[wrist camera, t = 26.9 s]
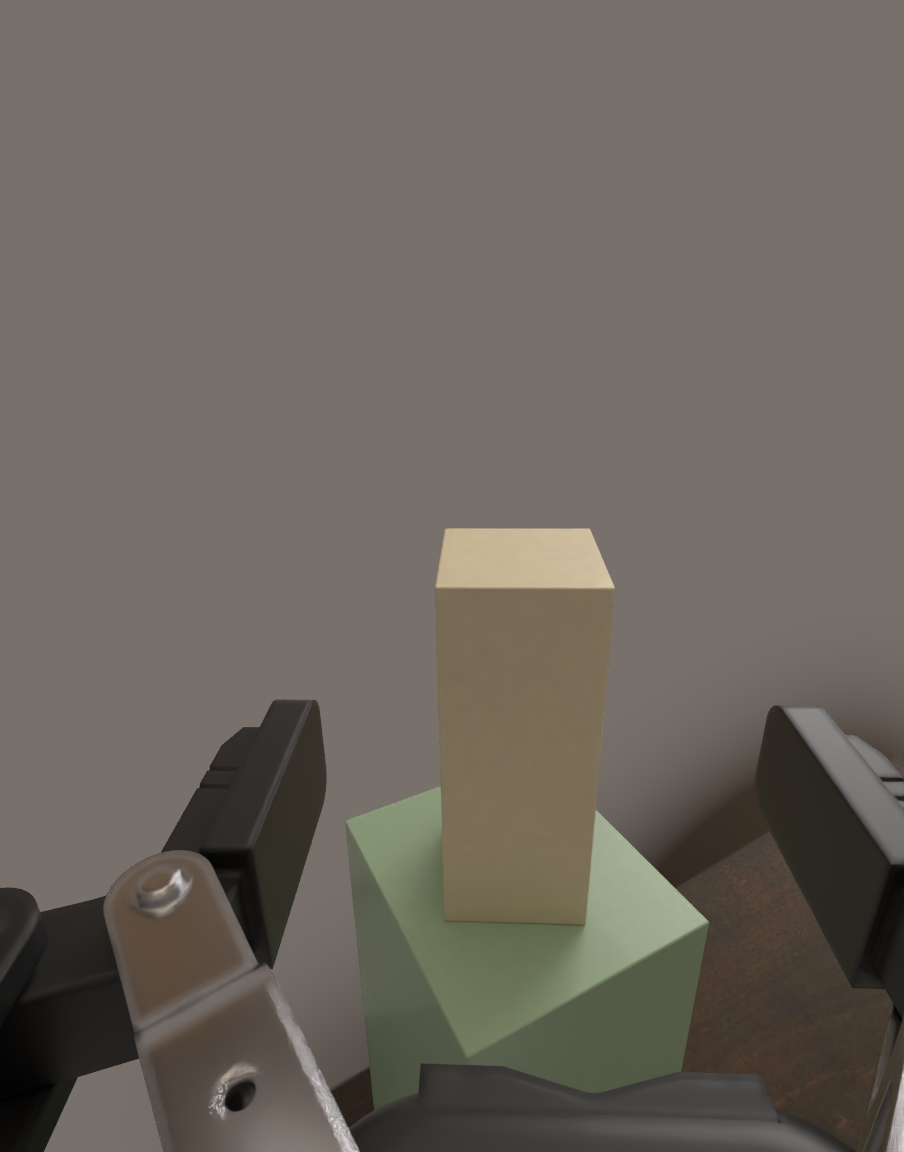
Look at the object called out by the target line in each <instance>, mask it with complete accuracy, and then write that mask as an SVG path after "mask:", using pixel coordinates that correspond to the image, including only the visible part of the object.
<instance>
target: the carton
mask: <svg viewBox="0 0 904 1152" xmlns="http://www.w3.org/2000/svg"><path fill="white" fill-rule="evenodd" d="M614 597H615V588H614V585H613V583H612V580H611V578H610V576H609V573H608V571H607V569H606V566H605V564H604V561H603V559H602V557H601V555H600V552H599V550H598V547H597V545H596V542H595V540H594V538H593V536H592V533H591V531H590V529H445V532H444V538H443V544H442V550H441V556H440V562H439V568H438V574H437V580H436V586H435V606H436V642H437V675H438V708H439V709H438V710H439V711H438V713H439V745H440V746H439V748H440V783H441V819H442V855H443V890H444V919H445V921H465V922H499V923H534V924H568V925H585V924H586V917H587V905H588V894H589V882H590V871H591V860H592V848H593V837H594V825H595V814H596V803H597V790H598V780H599V767H600V757H601V746H602V733H603V722H604V711H605V699H606V688H607V676H608V666H609V653H610V643H611V631H612V620H613V609H614Z"/></svg>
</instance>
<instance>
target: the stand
mask: <svg viewBox="0 0 904 1152" xmlns="http://www.w3.org/2000/svg"><path fill="white" fill-rule="evenodd" d="M345 826H346V837H347V846H348V856H349V866H350V876H351V885H352V896H353V906H354V915H355V925H356V934H357V945H358V955H359V965H360V975H361V985H362V994H363V1004H364V1014H365V1024H366V1034H367V1043H368V1054H369V1064H370V1074H371V1084H372V1093H373V1103H374V1111H375V1110H376V1109H378V1108H380V1107H381V1106H383V1105H386V1104H388V1103H390V1102H393V1101H395V1100H398V1099H400V1098H402V1097H406V1096H409V1095H413V1094H416V1093H418V1091H419V1079H420V1066H421V1063H424V1064H454V1065H483V1066H504V1067H507V1068H511V1069H514V1070H517V1071H520V1072H523V1073H527V1074H530V1075H533V1076H536V1077H539V1078H542V1079H546V1080H549V1081H552V1082H555V1083H558V1084H561V1085H565V1086H568V1087H571V1088H574V1089H577V1090H581V1091H584V1092H588V1093H600V1092H605V1091H608V1090H612V1089H616V1088H620V1087H623V1086H627V1085H631V1084H635V1083H638V1082H642V1081H646V1080H650V1079H653V1078H657V1077H661V1076H665V1075H668V1074H672V1073H676V1072H681V1069H682V1063H683V1058H684V1053H685V1047H686V1042H687V1037H688V1031H689V1026H690V1021H691V1016H692V1010H693V1005H694V1000H695V994H696V989H697V984H698V978H699V973H700V968H701V962H702V957H703V952H704V947H705V941H706V936H707V931H708V925H709V922H708V921H707V920H706V919H705V918H704V917H703V916H702V915H701V914H700V913H699V912H698V911H697V910H696V909H695V908H694V907H693V906H692V905H691V904H690V903H689V902H688V901H687V900H686V899H685V898H684V897H683V896H682V895H681V894H680V893H679V892H678V891H677V890H676V889H675V888H674V887H673V886H672V885H671V884H670V883H669V882H668V881H667V880H666V879H665V878H664V877H663V876H662V875H661V874H660V873H659V872H658V871H657V870H656V869H655V868H654V867H653V866H652V865H651V864H650V863H649V862H648V861H647V860H646V859H645V858H644V857H643V856H642V855H641V854H640V853H639V852H638V851H637V850H636V849H635V848H634V847H633V846H632V845H631V844H630V843H629V842H628V841H627V840H626V839H625V838H624V837H623V836H621V834H620V833H619V832H618V831H617V830H616V829H615V828H614V827H613V826H611V824H610V823H608V822H607V820H606V819H604V817H603V816H602V815H600V814H599V813H598V812H597V811H596V814H595V825H594V837H593V848H592V860H591V871H590V882H589V894H588V905H587V917H586V924H585V925H568V924H534V923H499V922H465V921H445V919H444V890H443V855H442V819H441V786H440V787H438V788H435V789H432V790H429V791H426V792H424V793H421V794H418V795H415V796H413V797H410V798H407V799H404V800H402V801H399V802H396V803H393V804H390V805H388V806H385V807H382V808H379V809H377V810H374V811H371V812H369V813H366V814H363V815H360V816H357V817H355V818H352V819H349V820H346V821H345Z"/></svg>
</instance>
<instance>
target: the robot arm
mask: <svg viewBox="0 0 904 1152" xmlns="http://www.w3.org/2000/svg"><path fill="white" fill-rule="evenodd" d="M325 792H326V763H325V754H324V745H323V736H322V727H321V719H320V710H319V706H318V703H317V701H316V700H274V701H273V702H272V704H271V706H270V708H269V710H268V712H267V714H266V716H265V718H264V720H263V722H262V724H261V726H260V727H243V728H242V729H241V730H240V731H239V732H237V733H236V734H235V735H234V736H233V737H231V738H230V739H229V740H228V741H226V742H225V743H224V744H223V745H222V746H221V747H220V749H219V751H218V753H217V755H216V757H215V758H214V760H213V762H212V763H211V765H210V770H209V771H207V772H206V774H205V776H204V777H203V779H202V781H201V783H200V788H199V789H198V788H197V790H196V791H195V793H194V795H193V797H192V799H191V800H190V802H189V804H188V806H187V808H186V809H185V811H184V813H183V815H182V816H181V818H180V820H179V822H178V823H177V825H176V827H175V829H174V830H173V832H172V834H171V836H170V837H169V839H168V841H167V843H166V844H165V846H164V848H163V850H162V852H161V853H159V854H156V855H153V856H150V857H148V858H146V859H144V860H142V861H140V862H138V863H136V864H135V865H133V866H132V867H130V868H129V869H128V870H126V871H125V872H124V873H123V874H122V875H121V876H120V877H119V878H118V879H117V880H116V881H115V883H114V884H113V885H112V886H111V888H110V889H109V891H108V893H107V895H106V896H103V897H100V898H97V899H93V900H90V901H85V902H82V903H77V904H73V905H69V906H65V907H61V908H56V909H52V910H48V911H44V912H40V911H39V908H38V905H37V902H36V901H35V899H34V897H33V896H32V895H31V894H30V893H28V892H26V891H24V890H22V889H17V888H0V1152H44V1150H45V1148H46V1146H47V1143H48V1141H49V1139H50V1137H51V1135H52V1132H53V1130H54V1128H55V1126H56V1124H57V1121H58V1119H59V1117H60V1115H61V1113H62V1111H63V1108H64V1106H65V1104H66V1102H67V1099H68V1097H69V1095H70V1093H71V1091H72V1088H73V1086H74V1084H75V1082H76V1080H77V1077H80V1076H83V1075H86V1074H89V1073H93V1072H96V1071H99V1070H102V1069H105V1068H109V1067H112V1066H115V1065H119V1064H122V1063H126V1062H129V1061H132V1060H135V1059H140V1063H141V1067H142V1071H143V1075H144V1079H145V1082H146V1086H147V1090H148V1094H149V1098H150V1102H151V1105H152V1109H153V1113H154V1117H155V1121H156V1125H157V1129H158V1133H159V1136H160V1141H161V1144H162V1148H163V1152H904V780H903V776H902V775H901V774H900V773H899V772H898V771H897V769H896V768H895V767H894V766H893V765H892V764H891V762H890V761H889V760H888V759H887V758H886V757H885V755H883V754H882V753H880V752H879V751H877V750H876V749H874V748H873V747H871V746H870V745H869V744H867V743H866V742H864V741H862V740H861V739H860V738H858V737H857V736H852V735H848V736H847V735H845V734H844V733H843V732H842V730H841V729H840V728H839V727H838V725H837V724H836V723H835V722H834V721H833V719H832V718H831V717H830V716H829V714H828V713H827V712H826V711H825V710H824V709H823V708H822V707H820V706H773V707H772V708H771V709H770V711H769V713H768V716H767V720H766V725H765V730H764V735H763V740H762V745H761V750H760V755H759V761H758V765H757V771H756V776H755V793H756V800H757V804H758V808H759V810H760V813H761V815H762V817H763V819H764V821H765V823H766V825H767V826H768V828H769V830H770V832H771V834H772V836H773V838H774V840H775V842H776V844H777V845H778V847H779V849H780V851H781V853H782V855H783V857H784V859H785V861H786V863H787V865H788V866H789V868H790V870H791V872H792V874H793V876H794V878H795V880H796V882H797V884H798V885H799V887H800V889H801V891H802V893H803V895H804V897H805V899H806V901H807V903H808V904H809V906H810V908H811V910H812V912H813V914H814V916H815V918H816V920H817V922H818V924H819V925H820V927H821V929H822V931H823V933H824V935H825V937H826V939H827V941H828V943H829V944H830V946H831V948H832V950H833V952H834V954H835V956H836V958H837V960H838V962H839V964H840V965H841V967H842V969H843V971H844V973H845V975H846V977H847V979H848V981H849V983H850V984H851V986H852V988H873V989H886V991H887V993H888V995H889V996H890V998H891V1000H892V1002H893V1005H892V1008H891V1011H890V1014H889V1017H888V1020H887V1024H886V1028H885V1032H884V1036H883V1041H882V1045H881V1049H880V1053H879V1057H878V1061H877V1066H876V1070H875V1074H874V1078H873V1082H872V1086H871V1091H870V1095H869V1099H868V1103H867V1107H866V1111H865V1116H864V1120H863V1124H862V1128H861V1131H860V1135H859V1139H858V1142H857V1145H856V1149H855V1150H854V1149H852V1148H851V1147H849V1146H848V1145H846V1144H845V1143H844V1142H842V1141H841V1140H839V1139H838V1138H836V1137H835V1136H833V1135H832V1134H830V1133H828V1132H826V1131H825V1130H823V1129H821V1128H819V1127H817V1126H816V1125H814V1124H812V1123H810V1122H808V1121H806V1120H804V1119H802V1118H799V1117H797V1116H795V1115H793V1114H790V1113H788V1112H786V1111H783V1110H780V1109H777V1108H774V1105H773V1102H772V1100H771V1097H770V1094H769V1091H768V1088H767V1085H766V1083H765V1080H764V1077H763V1075H748V1074H719V1073H689V1072H676V1073H672V1074H668V1075H665V1076H661V1077H657V1078H653V1079H650V1080H646V1081H642V1082H638V1083H635V1084H631V1085H627V1086H623V1087H620V1088H616V1089H612V1090H608V1091H605V1092H600V1093H588V1092H584V1091H581V1090H577V1089H574V1088H571V1087H568V1086H565V1085H561V1084H558V1083H555V1082H552V1081H549V1080H546V1079H542V1078H539V1077H536V1076H533V1075H530V1074H527V1073H523V1072H520V1071H517V1070H514V1069H511V1068H507V1067H504V1066H483V1065H454V1064H424V1063H421V1066H420V1079H419V1091H418V1093H416V1094H413V1095H409V1096H406V1097H402V1098H400V1099H398V1100H395V1101H393V1102H390V1103H388V1104H386V1105H383V1106H381V1107H380V1108H378V1109H376V1110H375V1111H373V1112H371V1113H369V1114H368V1115H366V1116H364V1117H363V1118H361V1119H360V1120H359V1121H357V1122H356V1123H355V1124H354V1125H352V1126H351V1127H350V1128H348V1126H347V1124H346V1122H345V1120H344V1118H343V1116H342V1114H341V1112H340V1110H339V1108H338V1106H337V1104H336V1101H335V1099H334V1097H333V1095H332V1093H331V1091H330V1089H329V1087H328V1085H327V1083H326V1081H325V1079H324V1077H323V1075H322V1073H321V1071H320V1069H319V1067H318V1064H317V1062H316V1060H315V1058H314V1056H313V1054H312V1052H311V1050H310V1048H309V1046H308V1044H307V1042H306V1040H305V1038H304V1036H303V1034H302V1032H301V1030H300V1028H299V1025H298V1023H297V1022H296V1019H295V1018H294V1015H293V1013H292V1011H291V1009H290V1007H289V1005H288V1003H287V1001H286V999H285V997H284V995H283V993H282V991H281V989H280V986H279V985H278V982H277V980H276V979H275V976H274V974H273V973H272V971H271V969H273V966H274V963H275V960H276V956H277V953H278V950H279V947H280V943H281V940H282V937H283V934H284V930H285V927H286V924H287V921H288V917H289V914H290V911H291V908H292V904H293V901H294V897H295V895H296V891H297V888H298V885H299V882H300V878H301V875H302V872H303V868H304V865H305V862H306V859H307V855H308V852H309V849H310V846H311V843H312V839H313V836H314V833H315V830H316V826H317V823H318V820H319V817H320V813H321V810H322V807H323V803H324V799H325Z"/></svg>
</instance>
